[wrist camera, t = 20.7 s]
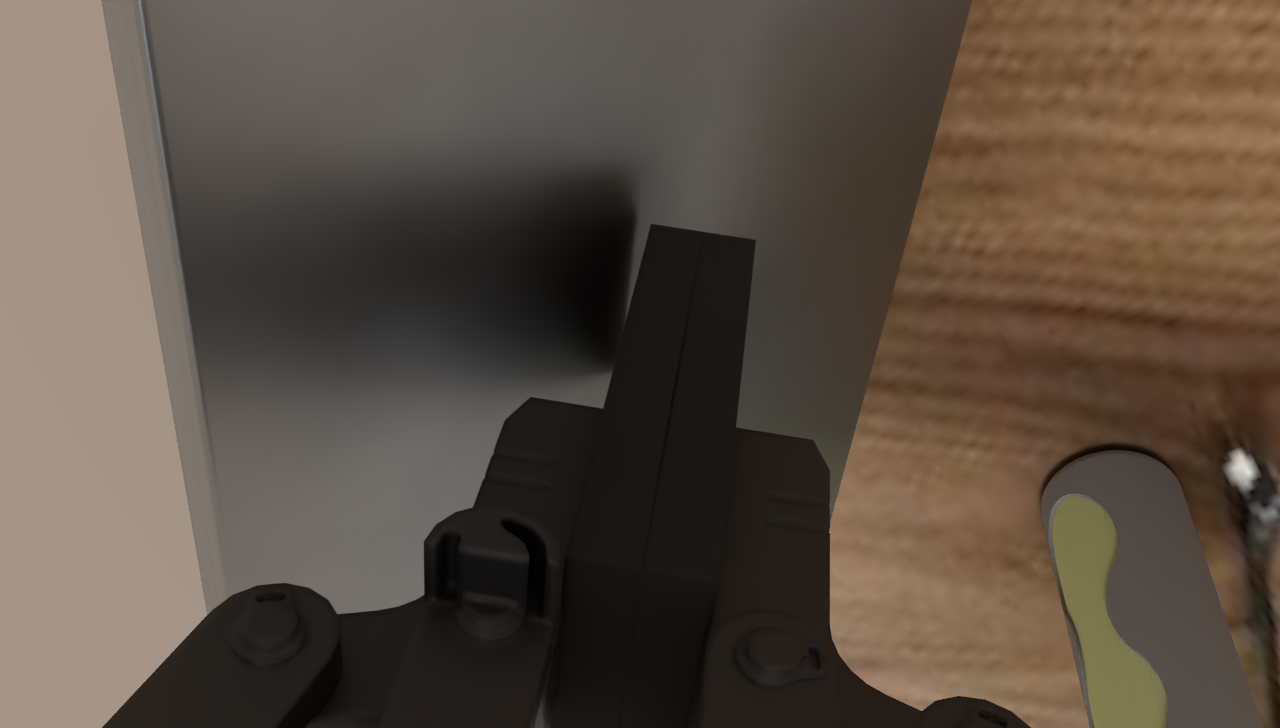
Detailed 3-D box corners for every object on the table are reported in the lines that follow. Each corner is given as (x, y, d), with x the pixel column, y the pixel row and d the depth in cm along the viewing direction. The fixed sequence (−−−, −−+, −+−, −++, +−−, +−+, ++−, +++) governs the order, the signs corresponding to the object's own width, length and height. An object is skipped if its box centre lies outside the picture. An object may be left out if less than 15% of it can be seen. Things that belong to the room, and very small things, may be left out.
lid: (256, 913, 19) (283, 949, 19) (-17, -654, 8) (37, -651, 7) (801, 517, 28) (828, 535, 28) (1053, -481, 17) (1104, -476, 16)
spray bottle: (1012, 513, 44) (1115, 1083, 28) (1088, 422, 41) (1250, 998, 25) (1125, 559, 45) (1290, 1143, 29) (1208, 473, 42) (1442, 1067, 26)
